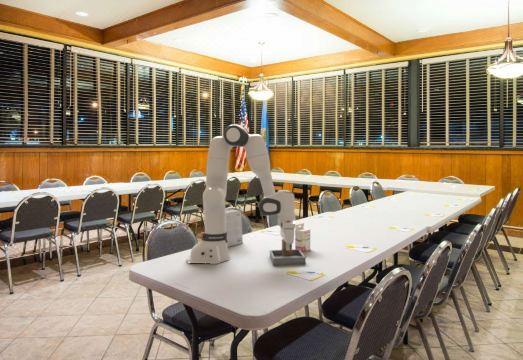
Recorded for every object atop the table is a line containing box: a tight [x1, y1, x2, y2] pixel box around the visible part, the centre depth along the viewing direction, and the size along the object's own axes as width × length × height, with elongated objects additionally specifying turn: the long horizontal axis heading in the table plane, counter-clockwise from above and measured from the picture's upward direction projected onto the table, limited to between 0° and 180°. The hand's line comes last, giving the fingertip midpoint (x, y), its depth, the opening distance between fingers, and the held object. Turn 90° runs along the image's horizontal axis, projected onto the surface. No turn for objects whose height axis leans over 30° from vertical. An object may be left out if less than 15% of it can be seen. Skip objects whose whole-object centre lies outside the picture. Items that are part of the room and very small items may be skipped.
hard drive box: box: [225, 209, 244, 248], centre depth 241 cm, size 16×8×20 cm, turn 135°
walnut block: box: [281, 238, 293, 257], centre depth 205 cm, size 4×4×8 cm
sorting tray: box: [269, 248, 307, 267], centre depth 205 cm, size 16×16×4 cm
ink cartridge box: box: [294, 222, 311, 253], centre depth 225 cm, size 9×5×15 cm, turn 141°
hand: (286, 248), depth 205 cm, fingers closed on walnut block, 4 cm apart
